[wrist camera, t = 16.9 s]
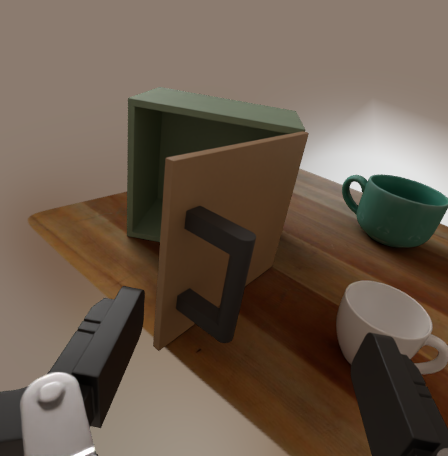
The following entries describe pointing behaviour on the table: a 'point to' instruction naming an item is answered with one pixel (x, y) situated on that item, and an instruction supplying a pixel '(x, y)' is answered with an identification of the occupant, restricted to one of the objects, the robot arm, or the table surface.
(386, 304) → the cup
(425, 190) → the mug
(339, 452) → the table surface
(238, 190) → the cupboard door
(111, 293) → the table surface
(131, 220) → the cupboard
